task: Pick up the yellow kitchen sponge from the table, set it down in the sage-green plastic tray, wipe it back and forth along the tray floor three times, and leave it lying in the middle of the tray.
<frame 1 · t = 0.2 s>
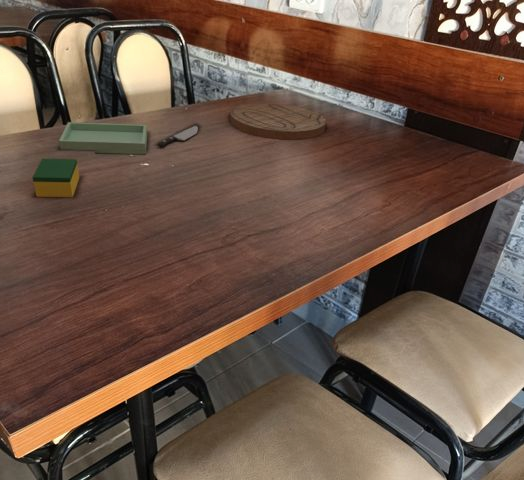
chef's knife: (183, 138, 118), on the table
tray: (106, 143, 112), on the table
sponge: (59, 189, 91), on the table
trivet: (277, 124, 133), on the table
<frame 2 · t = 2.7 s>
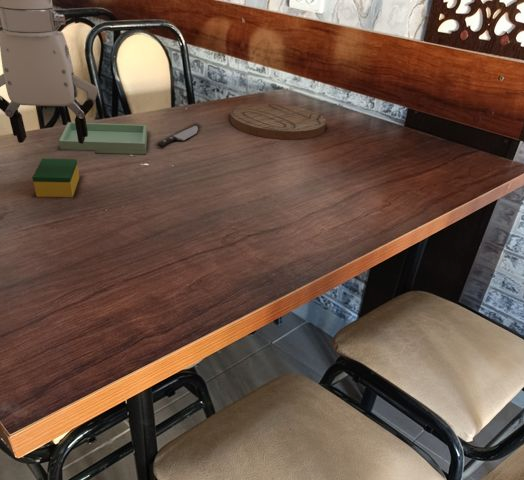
hand: (52, 140, 86), 9 cm above the table, tool pointing down, fingers open, 9 cm apart
nothing on the table moved.
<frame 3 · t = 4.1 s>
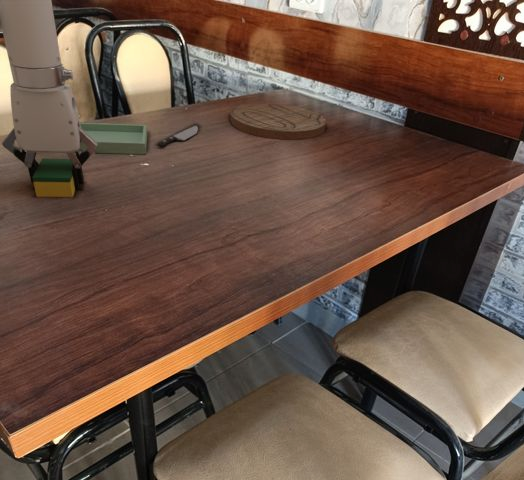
hand: (58, 186, 91), 1 cm above the table, tool pointing down, fingers closed on sponge, 6 cm apart
sponge: (59, 189, 91), on the table, touching gripper
everything else where it was.
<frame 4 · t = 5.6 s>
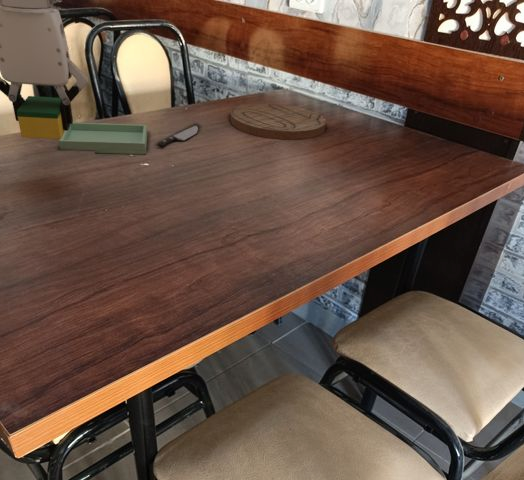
hand: (45, 125, 85), 11 cm above the table, tool pointing down, fingers closed on sponge, 6 cm apart
sponge: (46, 129, 85), point 10 cm above the table, touching gripper
everything else where it was.
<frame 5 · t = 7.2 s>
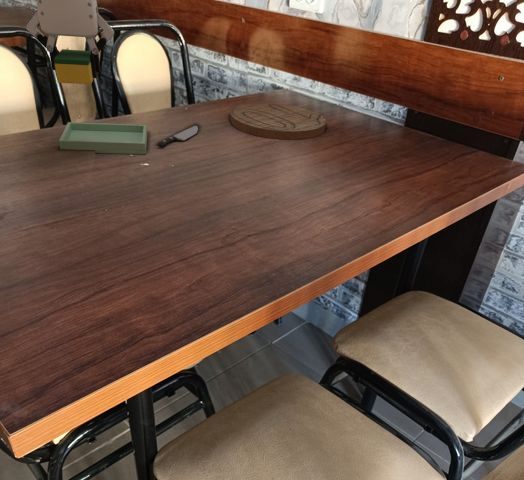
hand: (77, 74, 98), 15 cm above the table, tool pointing down, fingers closed on sponge, 6 cm apart
sponge: (77, 78, 98), point 14 cm above the table, touching gripper
everything else where it was.
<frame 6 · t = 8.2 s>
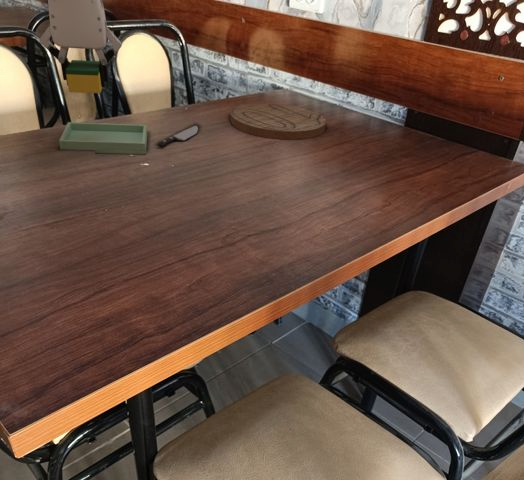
hand: (87, 84, 103), 12 cm above the table, tool pointing down, fingers closed on sponge, 6 cm apart
sponge: (87, 87, 104), point 11 cm above the table, touching gripper
everything else where it was.
when the fingers open (1 cm above the table, at t = 14.1 s): sponge stays where it is, resting on tray.
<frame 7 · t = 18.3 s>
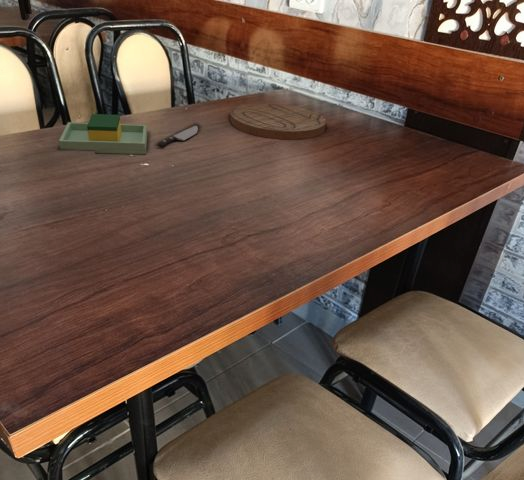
sponge: (106, 139, 111), point 1 cm above the table, touching tray
everything else where it was.
at the end: sponge inside the target area in the tray (0.0 cm from its centre), point 0.8 cm above the tray's base; the gripper is holding nothing; sponge tilted 0° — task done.
